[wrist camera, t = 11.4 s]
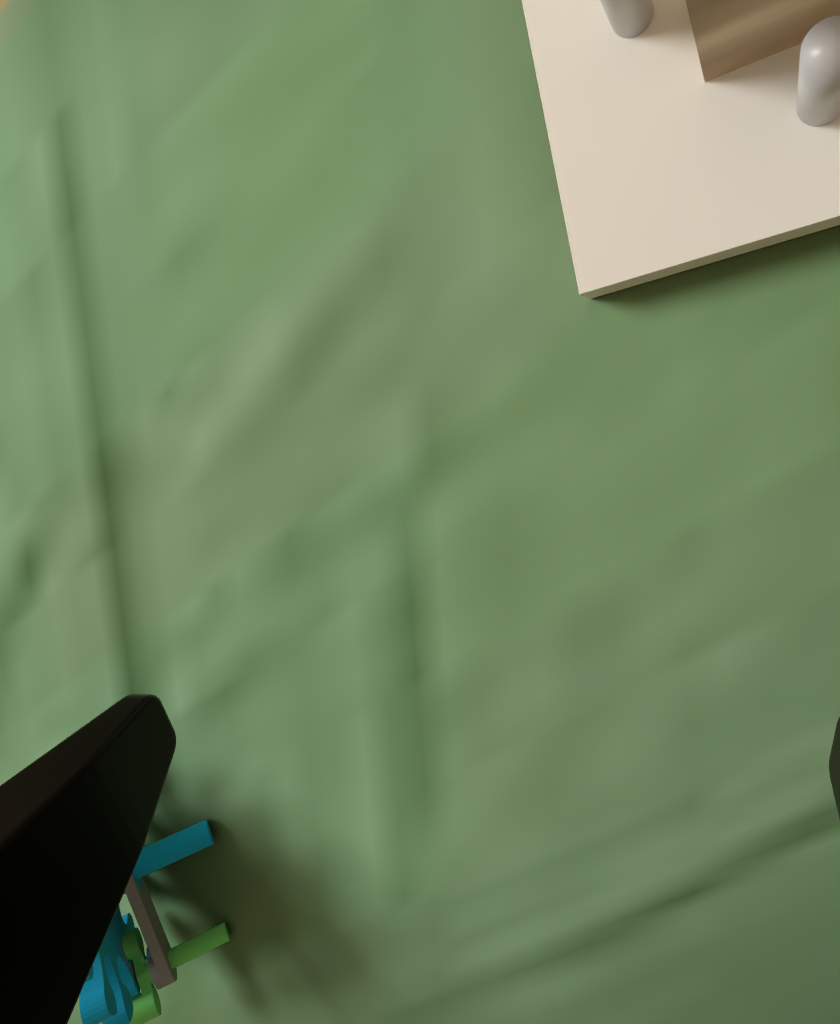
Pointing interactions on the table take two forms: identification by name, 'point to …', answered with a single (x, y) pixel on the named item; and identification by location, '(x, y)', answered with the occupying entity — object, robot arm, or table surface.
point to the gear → (122, 950)
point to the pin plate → (680, 139)
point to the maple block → (751, 29)
